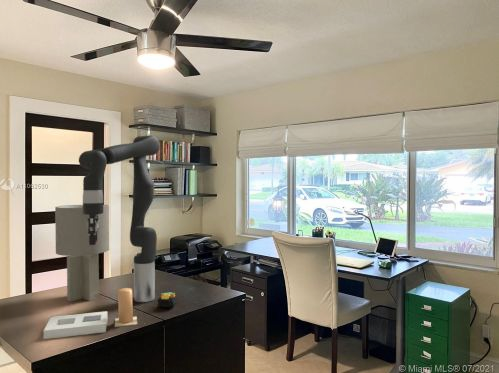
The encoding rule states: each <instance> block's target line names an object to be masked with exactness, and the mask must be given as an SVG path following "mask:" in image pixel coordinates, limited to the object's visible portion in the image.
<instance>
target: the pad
mask: <svg viewBox="0 0 499 373" xmlns="http://www.w3.org/2000/svg"><path fill="white" fill-rule="evenodd" d="M137 325H138V318H137V316H133V321H132V322H129V323H119V317H118V318H115V320H114V327H115V328H118V327H127V326H129V327H130V326H137Z"/></svg>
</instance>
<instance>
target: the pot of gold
mask: <svg viewBox="0 0 499 373" xmlns="http://www.w3.org/2000/svg"><path fill="white" fill-rule="evenodd" d="M177 299H178V294H176V293H175V292H162V293H161V294H160V297H159V298H157V303H158V306H160V307H162V308H163V309H164V308H171V307H172V306H174V305H175V304H176V303H177Z"/></svg>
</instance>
